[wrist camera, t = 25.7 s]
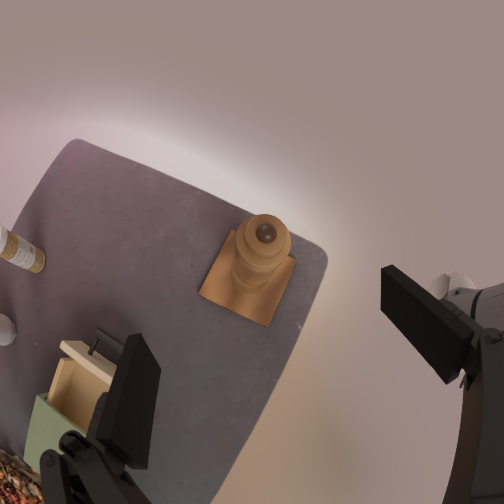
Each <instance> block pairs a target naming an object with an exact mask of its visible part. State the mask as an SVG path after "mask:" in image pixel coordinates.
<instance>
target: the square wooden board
mask: <svg viewBox="0 0 504 504" xmlns="http://www.w3.org/2000/svg"><path fill="white" fill-rule="evenodd" d="M236 233H237V232H236V231H234V230H231V232H230V234H229V236H228V237H227V239H226V241H225V243H224V245H223V247H222V249H221V251H220V253H219V255H218V256H217V258H216V260H215V262H214V264H213V266H212V268H211V270H210V272H209V274H208V276H207V278H206V280H205V282H204V283H203V285H202V287H201V289H200V291H199V293H198V294H199V295H200V296H202V297H204V298H206V299H208V300H210V301H212V302H214V303H216V304H218V305H220V306H222V307H224V308H226V309H228V310H231V311H233V312H235V313H237V314H239V315H241V316H243V317H245V318H247V319H250V320H252V321H254V322H256V323H258V324H261V325H263V326H265V327H268V326H269V324H270V322H271V320H272V318H273V315H274V313H275V311H276V309H277V307H278V304H279V302H280V300H281V298H282V295H283V293H284V291H285V288H286V286H287V284H288V281H289V279H290V277H291V274H292V272H293V270H294V267H295V265H296V263H297V260H296V259H294V258H291V257H289V256H286V258H285V259H284V260H283V262H282V263H281V264H280V266H279V267H278V268H277V270H276V271H275V272H274V274H273V275H272V276H271V277H270V279H269V280H268V281H267V283H266V284H265V285H264V287H263V288H262V289H261V290H260V291H258V292H256V293H254V294H245V293H242V292H240V291H239V290H237V289H236V287H235V286H234V284H233V282H232V268H233V258H234V248H235V239H236Z"/></svg>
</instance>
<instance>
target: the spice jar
mask: <svg viewBox="0 0 504 504" xmlns="http://www.w3.org/2000/svg"><path fill="white" fill-rule="evenodd" d="M0 257H2V258H4V259H5V260H7V261H9V262H11V263H13V264H15V265H17V266H20V267H22V268H24V269H27V270H30V271H31V272H33V273H38V272H40V271H41V270H42V269H43V267H44V265H45V260H46V258H45V254H44V252H43V251H42V250H41V249H38V248H36V247H34V246H33V245H32V244H30V243H29V242H27V241H25V240H24V239H22V238H20V237H19V236H17V235H15V234H13V233H11V232H10V231H8V230H7V229H6V228H5V227H4V226H2V225H1V224H0Z"/></svg>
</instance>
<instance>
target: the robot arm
mask: <svg viewBox="0 0 504 504" xmlns="http://www.w3.org/2000/svg"><path fill="white" fill-rule="evenodd" d="M381 311H382V312H383V313H384V314H385V315H386V316H387V317H388V318H389V319H390V320H391V321H392V323H393V324H394V325H395V326H396V327H397V328H398V329H399V330H400V331H401V333H402V334H403V335H404V336H405V337H406V338H407V339H408V340H409V342H410V343H411V344H412V345H413V346H414V347H415V348H416V349H417V351H418V352H419V353H420V354H421V355H422V356H423V358H424V359H425V360H426V361H427V362H428V363H429V365H430V366H431V367H432V368H433V369H434V371H435V372H436V373H437V374H438V375H439V377H440V378H441V379H442V380H443V381H444V383H445V384H446V385H447V384H449V383H450V382H452V381H453V380H455V379H456V378H457V377H458V376H459V374H460V371H461V369H463V370H464V371H465V372H466V373H465V375H464V377H463V379H462V382H461V384H460V388H462V385H463V383H464V391H463V404H462V414H461V423H460V430H459V437H458V443H457V448H456V453H455V458H454V463H453V467H452V471H451V475H450V479H449V483H448V486H447V490H446V493H445V496H444V499H443V502H442V504H504V283H502V284H499V285H495V286H492V287H489V288H485V289H482V290H477V289H471V288H465V287H459V288H455V289H452V290H450V291H448V292H447V293H446V294H445V295H444V297H443V298H442V299H441V300H437V299H436V298H435V297H434V296H432V295H431V294H430V293H429V292H427V291H426V290H425V289H424V288H422V287H421V286H420V285H418V284H417V283H416V282H415V281H413V280H412V279H411V278H409V277H408V276H407V275H406V274H404V273H403V272H402V271H400V270H399V269H397V268H396V267H395V266H394V265H389V266H387V267H384V268H381ZM160 374H161V368H160V366H159V365H158V363H157V361H156V360H155V358H154V356H153V354H152V353H151V351H150V349H149V347H148V346H147V344H146V342H145V340H144V339H143V337H142V335H141V333H139V334H134V335H128V338H127V341H126V343H125V346H124V349H123V351H122V354H121V357H120V359H119V362H118V365H117V368H116V371H115V374H114V376H113V379H112V382H111V385H110V388H109V391H108V392H103V393H102V394H101V396H100V397H99V398H98V400H97V402H96V405H95V408H94V409H95V410H94V411H93V415H92V416H93V417H92V418H91V421H90V424H89V427H88V431H87V434H86V437H84V436H83V435H82V434H81V433H79V432H78V431H76V430H70V431H67V432H65V433H64V434H63V435H62V436H61V438H60V440H59V444H58V445H59V449H60V450H61V451H62V452H63V453H64V454H61V455H60V454H59V453H58V452H57V451H55V450H53V449H48V450H46V451H44V452H43V453H42V454H41V457H40V461H39V465H40V477H41V485H42V493H43V499H44V504H152V503H151V502H150V501H149V500H148V499H147V497H146V496H145V495H144V494H143V492H142V491H141V490H140V489H139V487H138V486H137V485H136V483H135V482H134V481H133V479H132V478H131V476H130V475H129V474H128V472H126V471H125V470H124V468H125V464H126V465H128V466H129V467H130V468H132V469H143V470H147V467H148V457H149V448H150V440H151V432H152V425H153V418H154V411H155V404H156V398H157V392H158V386H159V380H160Z"/></svg>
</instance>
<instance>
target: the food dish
mask: <svg viewBox="0 0 504 504" xmlns="http://www.w3.org/2000/svg"><path fill="white" fill-rule="evenodd" d="M0 504H44V499H43V493H42V485H41V477H40V474H38V473H37V472H36V471H35V470H34V469H33V468H29V467H28V466H26V465H25V464H24V463H23V462H22V461H21V460H19V458H18V457H17V456H16V455H15V456H11V455H9V454H7V453H6V452H5V451H4V450H1V449H0Z"/></svg>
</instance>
